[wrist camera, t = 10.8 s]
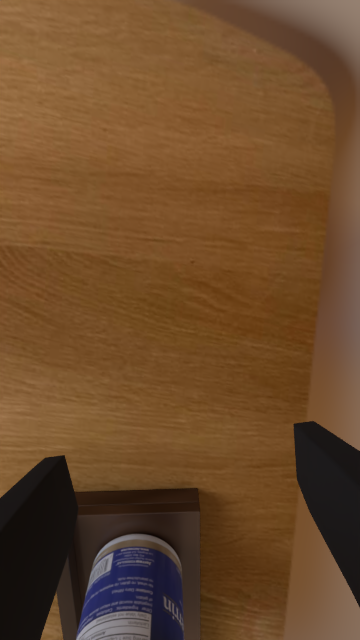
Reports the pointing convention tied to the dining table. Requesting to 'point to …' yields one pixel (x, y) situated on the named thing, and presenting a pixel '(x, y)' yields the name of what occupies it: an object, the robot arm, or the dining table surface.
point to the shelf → (132, 518)
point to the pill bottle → (134, 592)
